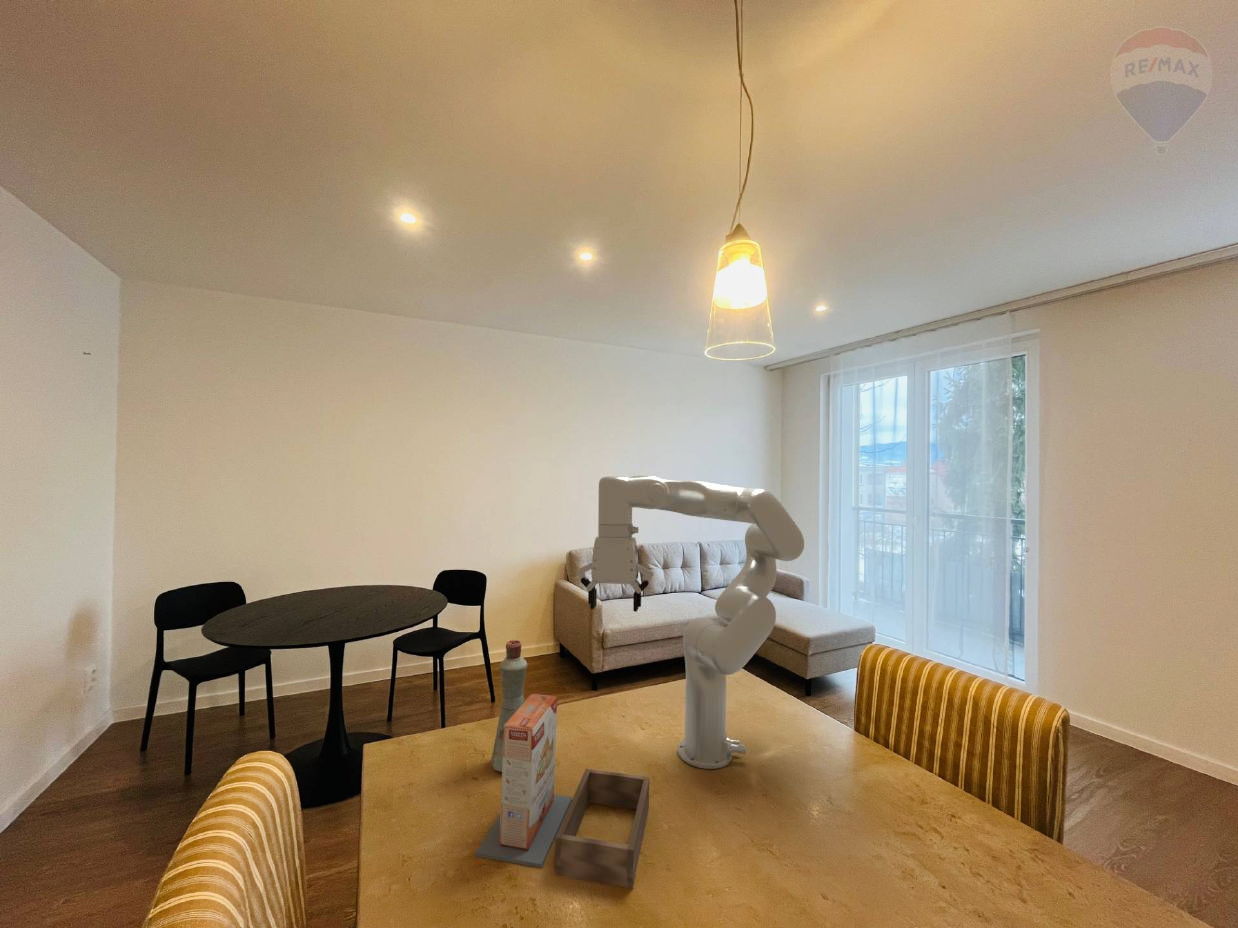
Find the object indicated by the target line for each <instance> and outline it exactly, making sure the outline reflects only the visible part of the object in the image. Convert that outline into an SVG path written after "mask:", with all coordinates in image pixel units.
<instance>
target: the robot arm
mask: <svg viewBox="0 0 1238 928" xmlns="http://www.w3.org/2000/svg"><path fill="white" fill-rule="evenodd" d="M633 508H638V509H645V510H646V509H647V510H659V511H666V512H672V513H677V514H681V515H684V516H689V517H696V518H697V517H698V518H703V519H711V520H712V519H713V520H724V521H729V522H730V521H731V522H737V523H738V522H740V523H746V524H750V525H749V527H748V528H747V529H746V531H745V535H744V543H745V544H744V545H745V552H746V558H745V562H744V565H743V567H742V568H741V569H740V571H739V573H738V574H737V575H736V576H735V577H734V578H733V579H732V580H731V582H730V583H729V584H728V585H727V586H726V587H725V589H723V591H722V592H721V594H720V595H719V596H718V598H717V600H716V601H715V606H714V610H715V613H716V616H717V617H718V618H719V619H720V620H721V621H722V622H724V623H725V624H727V625H726V626H725V625H722V624H721V623H719V622H717V621H715V620H712V619H710V618H708V617H697V618H694V619H693V620H691V621H690V622H689V623H688V624H687V625H686V626H685V629H684V631H683V635H682V645H683V646H682V648H683V649H682V650H683V655H684V663H685V664H684V665H685V697H684V698H685V699H684V700H685V701H684V702H685V703H684V705H685V707H684V708H685V710H684V711H685V712H684V719H685V720H684V739H682V740H681V741H680V742H679V743H678V747H677V753H678V756H679V758H680V759H681V760H683V762H685V763H687V764H688V765H691V766H693V767H696V768H699V769H706V770H716V769H720V768H724V767H726V766H727V765H729V764H730V763H731V762H732V759H733V753H734V754H735V753H736V754H739V755H741V754H742V755H746V744H742V743H741V744H740V739H730V737H728V733H727V730H726V729H727V728H726V726H727V725H726V722H727V717H726V716H727V715H726V714H727V676H730V675H735V674H736V673H738V672H740V671H741V670H742V669H743V668H744V667H745V666H746V664H747V663H748V662H749V661H750V660H751V659H752V658H753V656H754V655H755V653H757V651H758V650H759V648H761V646H762V645H763V644H764V642H765V641H766V640H767V638H768V637H769V636H770V634H771V633H772V631H773V629H774V627H775V623H776V621H777V620H776V618H777V611H776V608H775V606H774V603H773V602H772V601H771V599H769V598H768V595H769V594H770V593H771V591H772V590H773V588H774V586H775V584H776V581H777V573H778V572H777V561H776V560H779V561H782V562H792V561H795V560H797V559H798V558H799V557H800V556H801V555H802V553H803V551H804V549H805V538H804V536H803V533H802V531H801V529H800V528H799V526H798V525H797V524H796V521H794V519H793V518H792V516H790V514H789V512H788V511H787V510H786V508H785V507H784V506H783V504H782V503H781V501H779V499H778V498H777V497H776V496H775V495H774V494H773V492H770V491H769V490H767V489H765V488H753V487H752V488H751V487H741V486H734V485H725V484H719V483H714V482H707V481H701V480H699V481H698V480H687V481H686V480H681V481H680V480H669V479H662V478H660V477H658V476H655V475H634V476H633V475H632V476H630V477H627V476H603V477H601V478H600V479H599V481H598V510H597V511H598V519H597V521H598V522H597V523H598V524H597V525H598V528H597V529H598V532H597V533H598V534H597V536H596V537H595V539H594V542H593V543H594V544H593V549H592V557H591V558H592V559H591V562H590V563H588V564H586V565H584V566H582V567H580V568H578V569H576V574H577V577H578V578H579V580H580V583H581V584H582V585H583V586H584V587H585V588H586V591H587V592H588V593H587V594H588V596H587V597H588V599H587V601H588V602H587V603H588V604H587V605H589V607H590V610H595V608H596V607H597V602H598V601H597V599H598V594H597V593H598V592H597V588H596V585H597V584H598V583H599V584H609V585H610V584H611V585H612V584H613V585H629V586H631V588H633V590H634V592H633V597H632V598H633V604H632V605H633V608H632V610H633V611H632V612H634V613H636V612H638V610H639V608H641V607H642V592H643V591H644V590H646V588H648V586H649V584H650V582H651V581H652V579H653V577H654V575H655V573H654V572H653V571H652V570H650V569H648V568H646V567H645V566H643V565H641V564H639V555H638V546H637V545H638V544H637V539H636V537H634V536H633V535H634V534H639V527H638V526H637V527H636V526H635V525H633ZM588 571H591V581H590V579H589V578H588V577H587V576H586V572H588ZM639 573H640V574H643V575H644V576H645V579H644V580H643V581H642V582H641V583H640V582H639V580H638V579H639Z"/></svg>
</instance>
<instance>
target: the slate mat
mask: <svg viewBox="0 0 1238 928" xmlns="http://www.w3.org/2000/svg"><path fill="white" fill-rule="evenodd" d="M572 799H573V797H572V796H568V795H561V794H555V793H554V801H553V803H552V805H551V807H550V809H549V811H548V812H547V814H546V816H545V818H544V820H543V822H542V824H541V826H540V828H539V830H538V832H537V834H536V836H535V838H534V840H533V842H532V843H531V845H530V847H529V850H527V849H521V848H516V847H510V846H505V845H500V843H499V841H500V814H501V812H500V813H499V814H498V816H497V817H496V819H495V821H494V822H493V824H492V825H491V826H490V829H489V830H488V831H487V833H486V835H485V836H484V838H483V840H482V841H481V843H479V846H478V847H477V849H476V850H475V852H474V857H476V858H477V857H478V858H482V859H483V858H484V859H487V860H488V859H489V860H495V861H501V862H507V863H512V864H518V865H524V866H529V867H534V868H540V869H541V868H543V866H544V864H545V862H546V860H547V857H548V855H549V854H550V850H551V848H552V846H553V843H555V837H556V835H557V833H558V830H559V828H560V826H561V824H562V821H563V819H564V817H565V815H566V812H567V810H568V808H569V806H570V803H571V801H572Z"/></svg>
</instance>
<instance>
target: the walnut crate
mask: <svg viewBox="0 0 1238 928" xmlns="http://www.w3.org/2000/svg"><path fill="white" fill-rule="evenodd" d="M589 803H590V804H596V805H597V804H598V805H602V806H603V805H604V806H610V807H618V808H625V809H631V810H636V812H635V816H634V818H633V819H634V820H633V823H632V828H631V833H630V836H629V841H628V843H627V844H626V843H619V842H613V841H607V840H599V839H594V838H587V837H582V836H577V835H578V831H579V830H580V829H579V828H580V827H581V824H582V821H583V819H584V816H585V814H586V811H587V808H588V806H589ZM649 809H650V776H644V775H638V774H637V775H636V774H628V773H621V772H616V771H615V772H614V771H605V770H598V769H592V768H585V770H584V771H583V774H582V776H581V779H580V781H579V783H578V786H577V788H576V790H575V793H574V794H573V797H572V801H571V803H570V806H569V808H568V810H567V812H566V815H565V817H564V819H563V821H562V824H561V826H560V828H559V830H558V833H557V835H556V837H555V839H554V869H553V870H554V874H553V875H554V876H558V877H564V878H569V879H575V880H580V881H581V880H582V881H585V882H592V883H598V884H602V885H603V884H604V885H609V886H615V887H618V888H619V887H622V888H625V889H626V888H627V889H632V890H633V889H634V885H635V879H636V875H637V869H638V865H639V859H640V856H641V855H640V854H641V850H642V849H641V848H642V845H643V841H644V840H643V839H644V834H645V829H646V825H647V820H648V816H649V815H648V814H649Z"/></svg>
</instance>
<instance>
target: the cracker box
mask: <svg viewBox="0 0 1238 928" xmlns="http://www.w3.org/2000/svg"><path fill="white" fill-rule="evenodd" d="M558 699H559V697H558V696H556V695H550V694H538V693H531V694H530V695H529V696H527V699H525V700H524V703H523V704H522V705H521V707H520V708H519V709H518V710H517V711H516V712H515V714H514V715H513V716H512V717H511V718H510V719H509V720H508V721H507V723H506V724H505V725H504V739H503V765H502V772H501V792H500V794H501V795H500V813H501V814H500V813H499V815H500V841H499V843H500V845H505V846H510V847H516V848H521V849H527V850H529V847H530V845H531V843H532V842H533V840H534V838H535V836H536V834H537V832H538V830H539V828H540V826H541V824H542V822H543V820H544V818H545V816H546V814H547V812H548V811H549V809H550V807H551V805H552V803H553V801H554V794H555V776H556V775H555V773H556V770H555V769H556V753H557V752H556V750H557V749H556V747H557V746H556V745H557V724H558V723H557V722H558V721H557V718H558V717H557V716H558Z"/></svg>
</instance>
